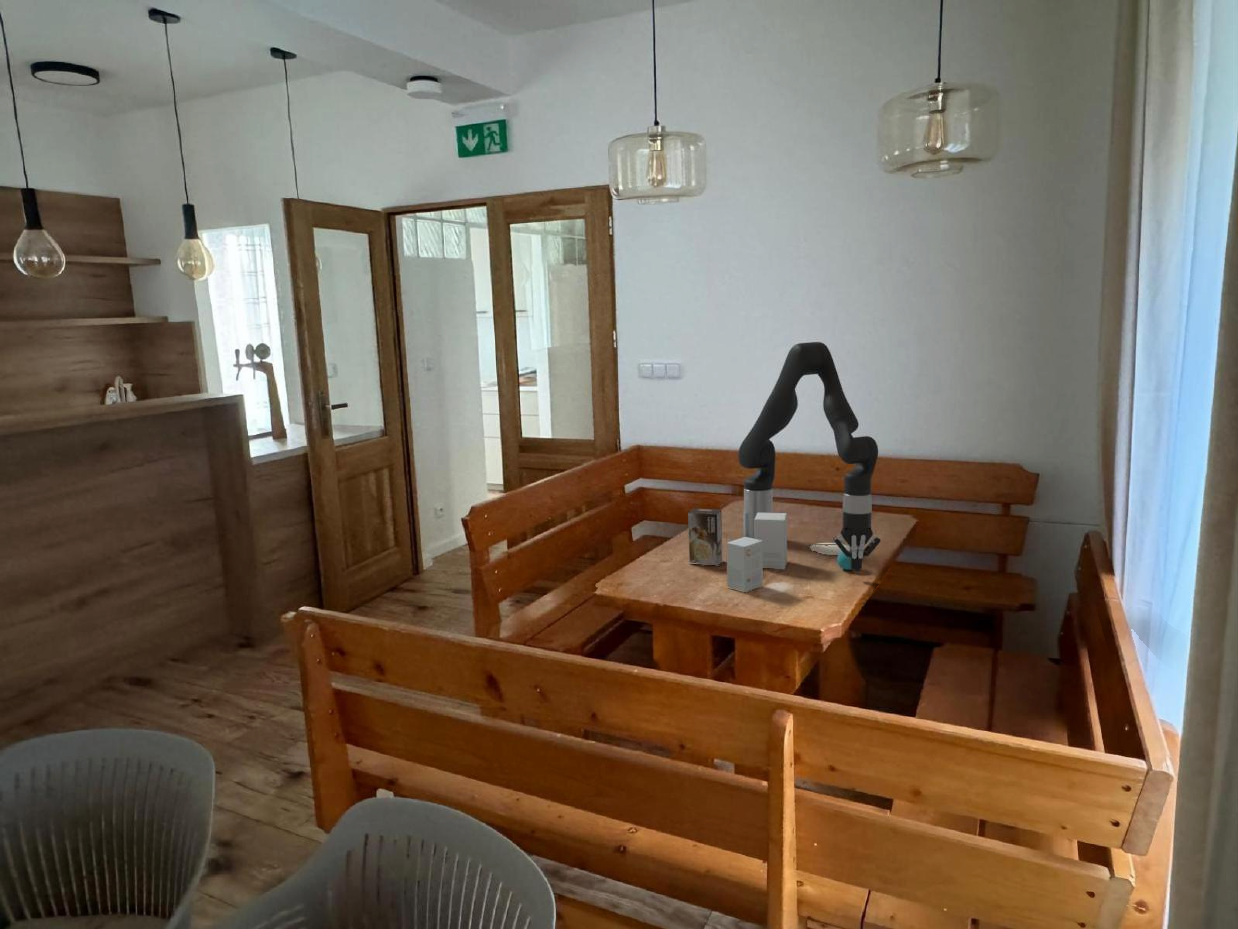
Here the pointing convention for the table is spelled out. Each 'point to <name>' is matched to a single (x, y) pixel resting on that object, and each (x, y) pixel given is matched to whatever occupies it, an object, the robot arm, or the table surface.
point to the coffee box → (705, 536)
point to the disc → (828, 549)
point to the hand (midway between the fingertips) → (856, 570)
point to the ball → (844, 561)
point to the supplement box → (772, 538)
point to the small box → (745, 564)
